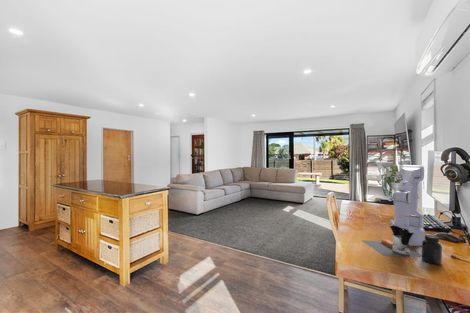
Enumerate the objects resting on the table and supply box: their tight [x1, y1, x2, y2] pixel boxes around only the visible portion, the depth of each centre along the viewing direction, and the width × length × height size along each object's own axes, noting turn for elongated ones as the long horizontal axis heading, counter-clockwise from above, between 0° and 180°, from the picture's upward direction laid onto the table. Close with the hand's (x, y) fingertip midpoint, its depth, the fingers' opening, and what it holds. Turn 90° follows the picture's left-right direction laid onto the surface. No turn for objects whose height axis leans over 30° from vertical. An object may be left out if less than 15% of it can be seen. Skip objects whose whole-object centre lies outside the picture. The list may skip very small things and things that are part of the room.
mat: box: [361, 239, 422, 258], centre depth 115 cm, size 20×20×1 cm
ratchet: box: [380, 238, 410, 257], centre depth 114 cm, size 7×17×4 cm, turn 177°
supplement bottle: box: [421, 234, 443, 266], centre depth 100 cm, size 7×7×12 cm
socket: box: [392, 234, 410, 248], centre depth 109 cm, size 5×5×5 cm
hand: (401, 242), depth 109 cm, fingers closed on socket, 5 cm apart
